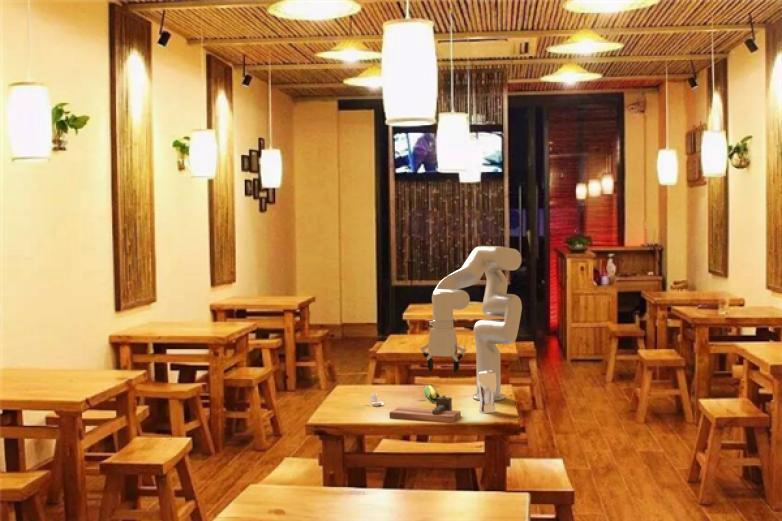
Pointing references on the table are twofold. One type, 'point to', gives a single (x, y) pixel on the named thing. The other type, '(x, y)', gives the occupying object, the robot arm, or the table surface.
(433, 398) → the edible corn
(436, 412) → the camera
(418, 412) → the board
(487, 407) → the beer glass
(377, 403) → the teacup and saucer
